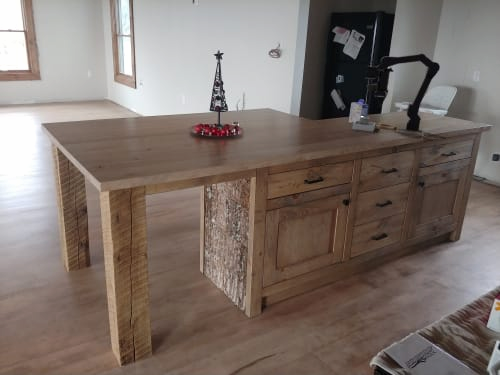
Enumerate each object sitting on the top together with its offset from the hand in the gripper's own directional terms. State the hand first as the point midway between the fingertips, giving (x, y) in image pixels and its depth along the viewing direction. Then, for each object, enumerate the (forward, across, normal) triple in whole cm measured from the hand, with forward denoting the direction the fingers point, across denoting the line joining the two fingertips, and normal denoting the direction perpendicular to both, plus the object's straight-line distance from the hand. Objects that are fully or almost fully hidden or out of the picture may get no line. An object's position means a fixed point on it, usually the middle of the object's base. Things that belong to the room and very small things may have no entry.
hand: (379, 107), depth 259 cm
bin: (+12, +12, -6) cm, 18 cm away
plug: (+11, +12, -6) cm, 18 cm away
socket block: (+12, +1, +5) cm, 13 cm away
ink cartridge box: (+12, -7, -12) cm, 19 cm away
